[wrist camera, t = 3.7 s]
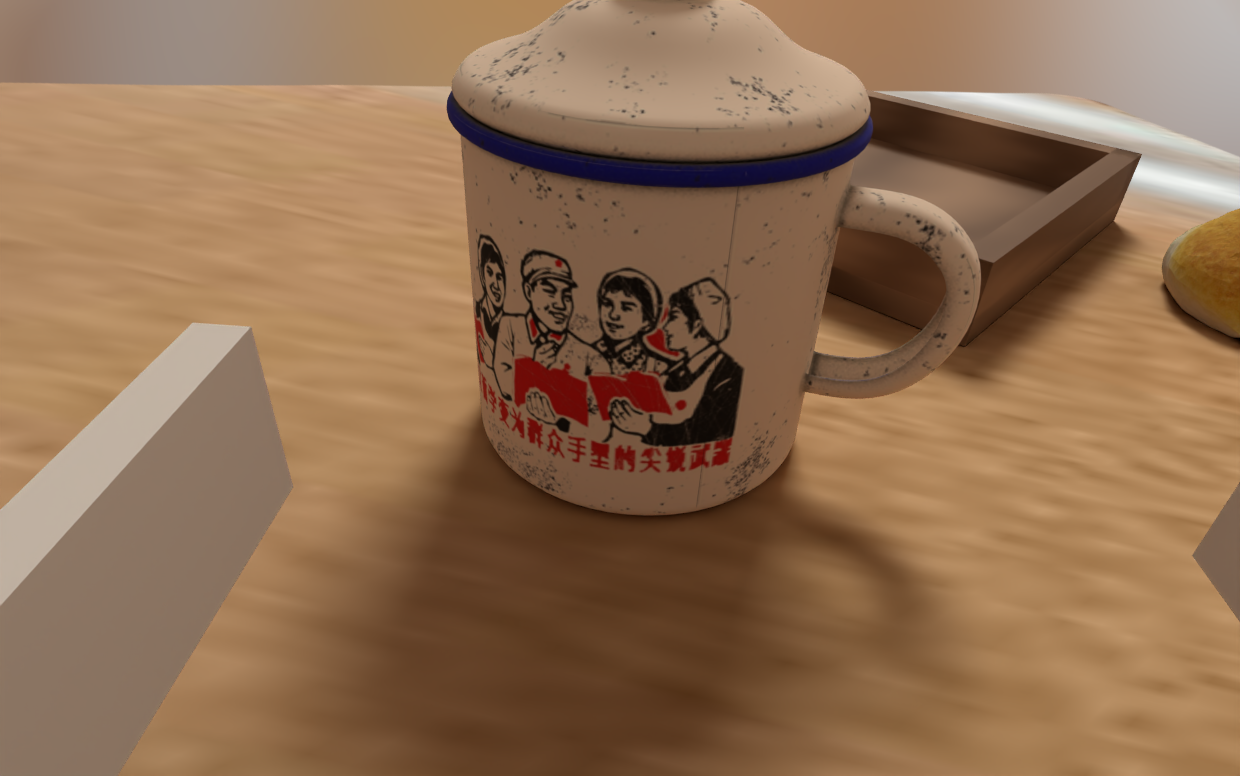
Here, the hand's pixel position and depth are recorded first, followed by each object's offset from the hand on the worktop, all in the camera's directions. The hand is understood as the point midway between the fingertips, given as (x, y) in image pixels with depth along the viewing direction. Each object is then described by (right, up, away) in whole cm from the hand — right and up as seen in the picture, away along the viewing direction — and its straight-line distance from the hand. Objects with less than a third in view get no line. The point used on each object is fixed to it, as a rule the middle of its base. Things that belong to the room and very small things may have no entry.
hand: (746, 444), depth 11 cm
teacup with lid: (0, 0, +11) cm, 11 cm away
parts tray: (+7, +10, +26) cm, 29 cm away
